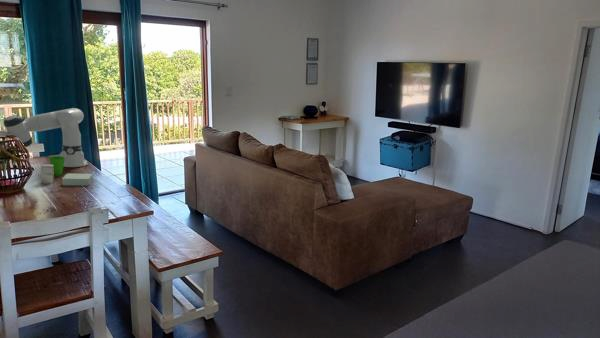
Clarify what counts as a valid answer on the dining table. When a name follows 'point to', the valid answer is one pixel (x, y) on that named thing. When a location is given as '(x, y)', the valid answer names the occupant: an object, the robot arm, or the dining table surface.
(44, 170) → the cream block
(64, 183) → the base plinth
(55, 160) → the cup
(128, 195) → the dining table surface
